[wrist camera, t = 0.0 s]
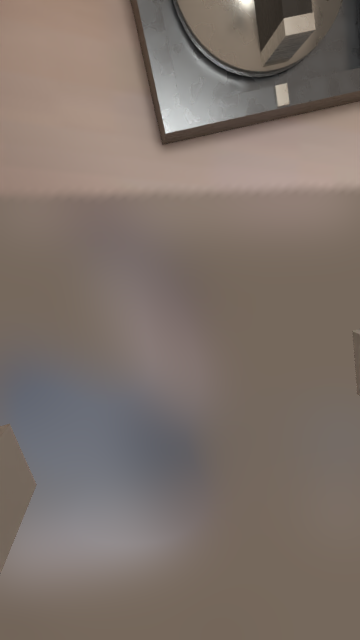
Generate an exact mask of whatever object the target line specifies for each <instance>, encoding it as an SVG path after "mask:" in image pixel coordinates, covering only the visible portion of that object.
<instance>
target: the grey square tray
mask: <svg viewBox="0 0 360 640" xmlns="http://www.w3.org/2000/svg"><path fill="white" fill-rule="evenodd" d="M131 4H132V8H133V13H134V17H135V22H136V26H137V31H138V36H139V40H140V45H141V49H142V54H143V58H144V63H145V67H146V72H147V76H148V81H149V86H150V90H151V95H152V99H153V104H154V108H155V113H156V117H157V122H158V126H159V131H160V135H161V140H162V145H164V144H168V143H173V142H177V141H182V140H186V139H191V138H195V137H200V136H204V135H209V134H213V133H218V132H222V131H227V130H231V129H235V128H240V127H244V126H249V125H253V124H258V123H262V122H267V121H271V120H276V119H280V118H285V117H289V116H294V115H298V114H303V113H307V112H312V111H316V110H321V109H325V108H330V107H334V106H339V105H343V104H348V103H352V102H357V101H360V0H343V2H342V4H341V7H340V9H339V12H338V14H337V16H336V18H335V20H334V22H333V24H332V26H331V28H330V29H329V30H328V32H327V33H326V35H325V36H324V38H323V39H322V40H321V41H320V42H319V43H318V44H317V46H316V47H315V48H314V49H313V50H312V51H311V52H310V53H309V54H308V55H307V56H306V57H305V58H304V59H302V60H301V61H300V62H299V63H297V64H296V65H294V66H293V67H291V68H290V69H287V70H285V71H283V72H281V73H278V74H275V75H271V76H265V77H247V76H242V75H237V74H235V73H232V72H229V71H227V70H225V69H223V68H221V67H219V66H217V65H216V64H215V63H213V62H212V61H211V60H209V59H208V58H207V57H206V56H205V55H204V54H203V53H202V52H201V51H200V50H199V49H198V48H197V47H196V45H195V44H194V43H193V42H192V41H191V39H190V37H189V36H188V34H187V33H186V31H185V30H184V28H183V26H182V23H181V21H180V19H179V17H178V15H177V12H176V9H175V6H174V3H173V0H131Z"/></svg>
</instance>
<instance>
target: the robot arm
mask: <svg viewBox="0 0 360 640" xmlns="http://www.w3.org/2000/svg"><path fill="white" fill-rule="evenodd" d="M352 332H353V345H354V357H355V370H356V383H357V394H358V395H360V329H359V330H355V331H352ZM35 487H36V483H35V480H34V478H33V476H32V474H31V471H30V469H29V467H28V464H27V462H26V460H25V458H24V456H23V453H22V451H21V449H20V447H19V444H18V442H17V440H16V437H15V435H14V433H13V430H12V428H11V426H10V424H7V425H4V426H0V574H1V571H2V569H3V566H4V564H5V561H6V559H7V556H8V554H9V551H10V549H11V546H12V544H13V541H14V539H15V537H16V534H17V532H18V529H19V527H20V524H21V522H22V519H23V517H24V514H25V512H26V509H27V507H28V505H29V502H30V500H31V497H32V495H33V492H34V490H35Z"/></svg>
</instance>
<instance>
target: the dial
mask: <svg viewBox="0 0 360 640" xmlns="http://www.w3.org/2000/svg"><path fill="white" fill-rule="evenodd" d="M342 2H343V0H173V3H174V6H175V9H176V12H177V15H178V17H179V19H180V21H181V23H182V26H183V28H184V30H185V31H186V33H187V34H188V36H189V37H190V39H191V41H192V42H193V43H194V44H195V45H196V47H197V48H198V49H199V50H200V51H201V52H202V53H203V54H204V55H205V56H206V57H207V58H208V59H209V60H211V61H212V62H213V63H215V64H216V65H217V66H219V67H221V68H223V69H225V70H227V71H229V72H232V73H235V74H237V75H242V76H247V77H265V76H271V75H275V74H278V73H281V72H283V71H285V70H287V69H290V68H291V67H293V66H294V65H296V64H297V63H299V62H300V61H301V60H302V59H304V58H305V57H306V56H307V55H308V54H309V53H310V52H311V51H312V50H313V49H314V48H315V47H316V46H317V44H318V43H319V42H320V41H321V40H322V39H323V38H324V36H325V35H326V33H327V32H328V30H329V29H330V28H331V26H332V24H333V22H334V20H335V18H336V16H337V14H338V12H339V9H340V7H341V4H342Z"/></svg>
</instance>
